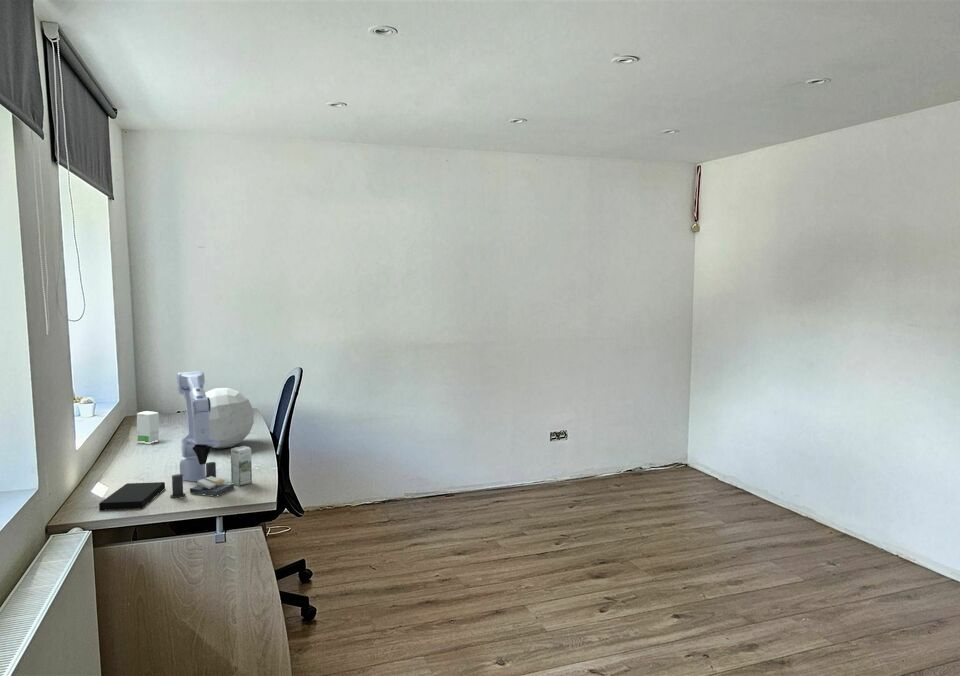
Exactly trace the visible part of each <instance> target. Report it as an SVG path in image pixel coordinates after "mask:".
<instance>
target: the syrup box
mask: <svg viewBox="0 0 960 676" xmlns="http://www.w3.org/2000/svg"><path fill="white" fill-rule="evenodd" d="M230 460H231V462H230V466H231V467H230V469H231V475H230V476H231V484H232V483H233V484H234V486H237V487H241V486H245V485H248V483H249V484H252V481H253V480H252V478H253V477H252V476H253V475H252V473H253V472H252V471H253V470H252V448H251V447H249V446H246V445H242V446H237V447H233V448H231V449H230ZM244 484H245V485H244ZM240 485H241V486H240Z"/></svg>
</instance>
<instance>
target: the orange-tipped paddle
mask: <svg viewBox="0 0 960 676" xmlns="http://www.w3.org/2000/svg"><path fill="white" fill-rule="evenodd" d="M205 480H207V481H210V482H212V483H214V484H216V485H220V484H222V483H225V482H224V481H225V480H224V479H222V478H218V477H216V478H215V477H213V476H210V477H208V478H205Z"/></svg>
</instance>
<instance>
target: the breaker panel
mask: <svg viewBox="0 0 960 676" xmlns="http://www.w3.org/2000/svg"><path fill="white" fill-rule="evenodd" d="M232 489H233V490H235V484H232V483H229V482H224V483H222V484H220V485H216V486H215V487H213V488H211V489H208V488H206V487H204V486H201V485H199V484H197V485H195V486H193V487H191V488H189V494H190V493H194V494H193V495H197V494H205V495H213V496H212V497H214V496H217V495H219V496H221V495H224V494H226V493H228V492H230V490H231V491H233V490H232ZM227 491H228V492H227ZM225 492H226V493H225ZM223 493H224V494H223ZM220 494H221V495H220ZM205 495H204V496H205ZM217 497H218V496H217Z"/></svg>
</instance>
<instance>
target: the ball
mask: <svg viewBox="0 0 960 676" xmlns="http://www.w3.org/2000/svg"><path fill="white" fill-rule="evenodd" d="M205 394H206V397H209V398H210V402H211V410H210V412H209V411H208V412H209V422H210V439H211V440H215V441H219V444H220V446H218V447H214V446H212V448H211V449H215V448H218V449H228V448H227V447H230V448H231V447H235V446H236V445H238V444H240V443H242V442H243V441H244V439H246V438H247V437H248V435H249V434H250V433H251V430H252V427H253V425H254V423H255V422H254V421H255V419H254V415H255V414H254V413H255V411H254V410H255V409H254V408H253V406H252V404H251V402H250V400H249V399H248V398H247V397H246V396H245V395H244V394H243V393H242V392H241V391H239V390H235V389H233V388H230V387H216V388H213V389H210V390H208V391H205Z"/></svg>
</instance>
